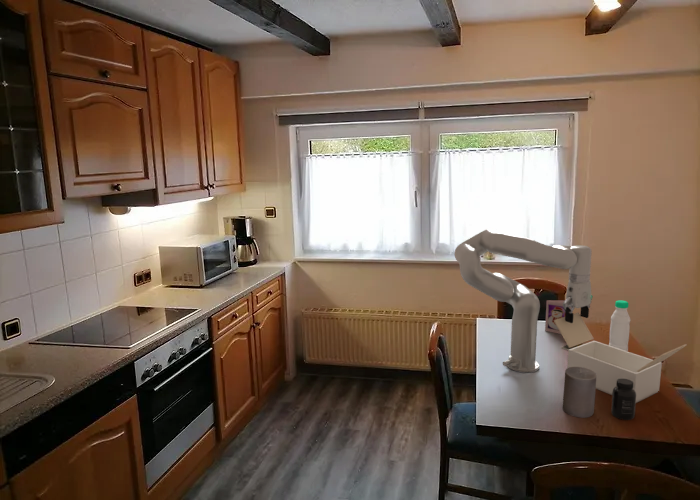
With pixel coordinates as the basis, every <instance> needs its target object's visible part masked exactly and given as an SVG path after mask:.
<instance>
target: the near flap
mask: <svg viewBox="0 0 700 500" xmlns="http://www.w3.org/2000/svg"><path fill="white" fill-rule="evenodd" d="M687 346H688V345H687V343H685V344H682V345H680V346H677V347H676V348H673V349H671V350H668V351H667V352H664V353H662V354H660V355H659V356H657V357H655V358H654V359H652V360H653V361H651V362H650V363H648V364H647V365H645V366H644V367H642V368H641V369H639V370H638V371H637V372H640V371H642V370H644V369H646V368H649V367H651V366H653V365H655V364H657V363H660V362H661V363H662V362H664V361H666V359H668V358H669V357H671V356H673V355H674V354H676V353H677V352H679V351H680V350H682V349H683V348H685V347H687Z"/></svg>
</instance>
